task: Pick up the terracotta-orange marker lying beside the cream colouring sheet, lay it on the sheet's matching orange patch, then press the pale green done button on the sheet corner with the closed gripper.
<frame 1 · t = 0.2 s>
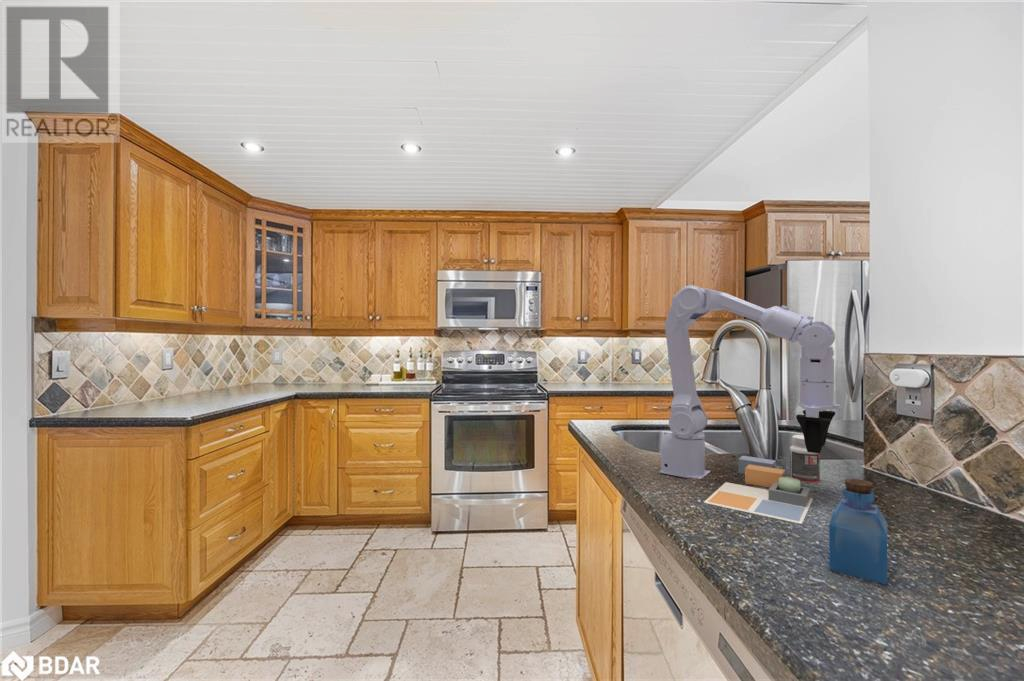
hand: (815, 448, 92), 10 cm above the countertop, fingers open, 7 cm apart
button housing: (789, 499, 89), resting on sheet
sheet: (758, 503, 88), on the countertop
orange marker: (764, 487, 98), on the countertop
blue marker: (756, 476, 106), on the countertop
done button: (789, 484, 89), point 3 cm above the countertop, slide at 0.0 cm
pill bottle: (804, 482, 102), on the countertop
perfume bottle: (858, 569, 63), on the countertop
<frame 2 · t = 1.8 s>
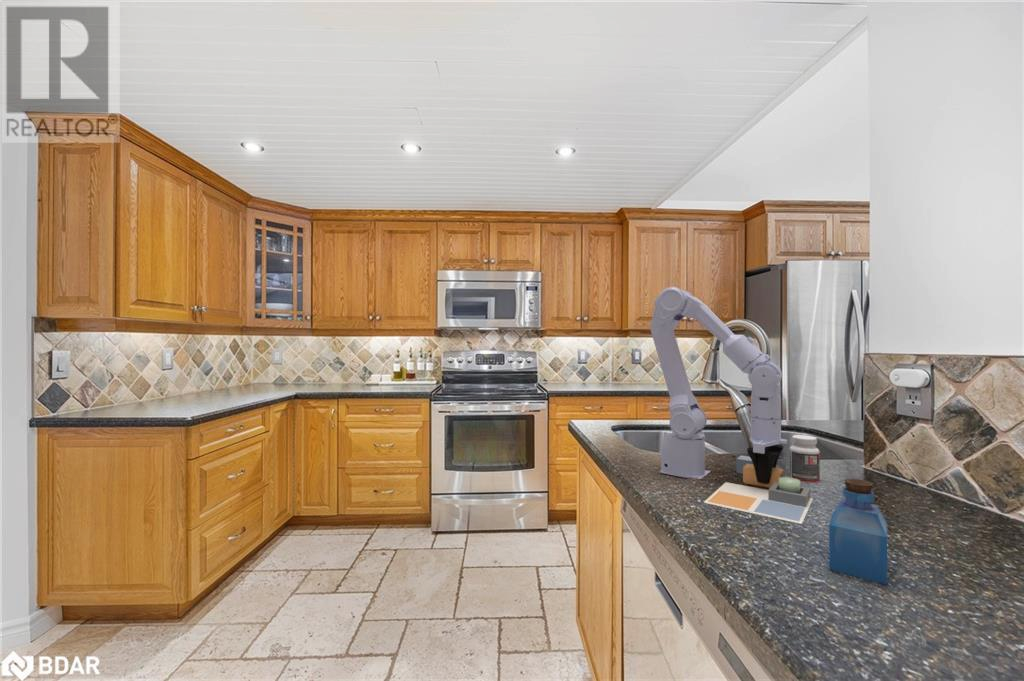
hand: (765, 480, 98), 1 cm above the countertop, fingers closed on orange marker, 4 cm apart
orange marker: (763, 486, 98), on the countertop, touching gripper
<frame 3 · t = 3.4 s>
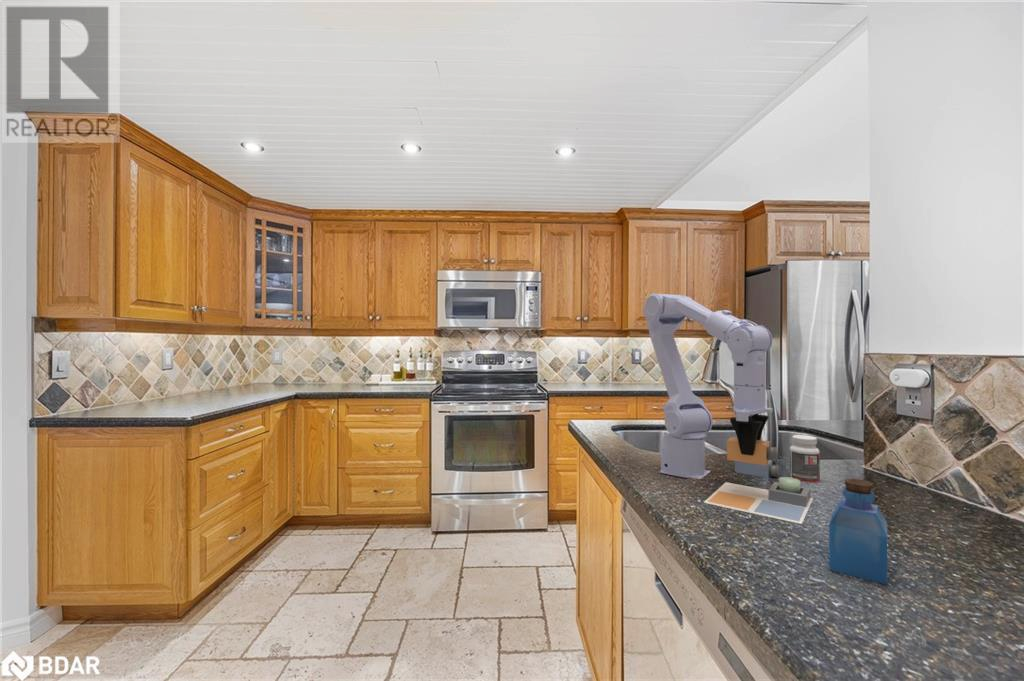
hand: (749, 452, 92), 9 cm above the countertop, fingers closed on orange marker, 4 cm apart
orange marker: (748, 460, 92), point 7 cm above the countertop, touching gripper
when the fingers open (3 cm above the countertop, at t = 5.1 s): orange marker stays where it is, resting on sheet.
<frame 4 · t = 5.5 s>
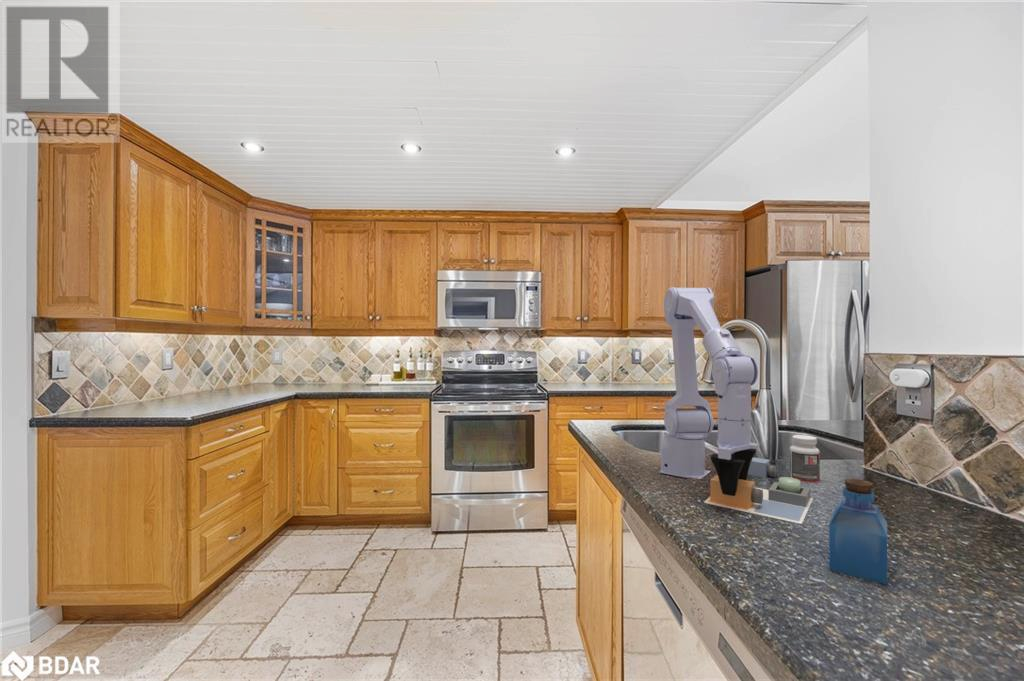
hand: (734, 489, 87), 3 cm above the countertop, fingers open, 7 cm apart
orange marker: (732, 501, 88), point 1 cm above the countertop, touching sheet
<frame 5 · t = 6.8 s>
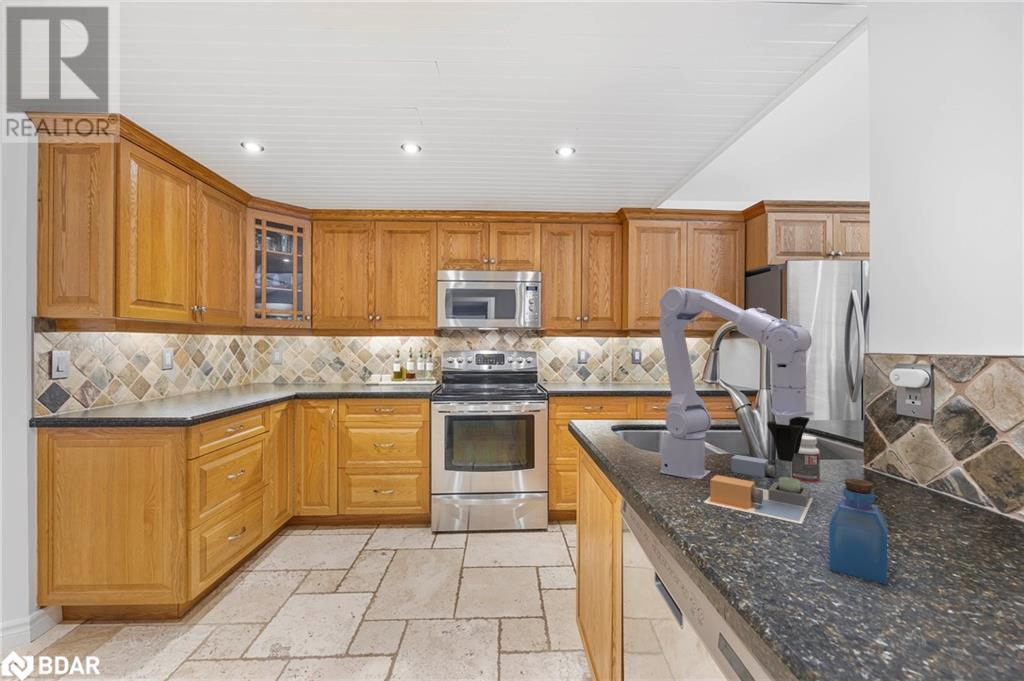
hand: (788, 456, 89), 9 cm above the countertop, fingers open, 7 cm apart
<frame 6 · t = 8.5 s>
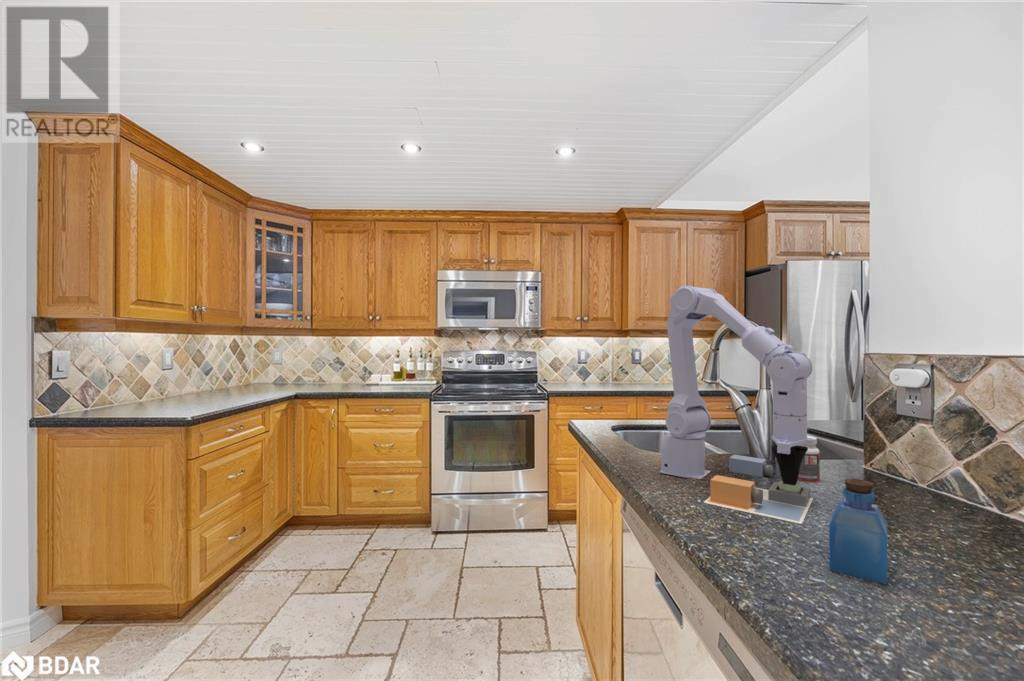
hand: (789, 483, 89), 4 cm above the countertop, fingers closed, pressing on done button
done button: (789, 488, 89), point 3 cm above the countertop, slide at 0.8 cm, touching gripper
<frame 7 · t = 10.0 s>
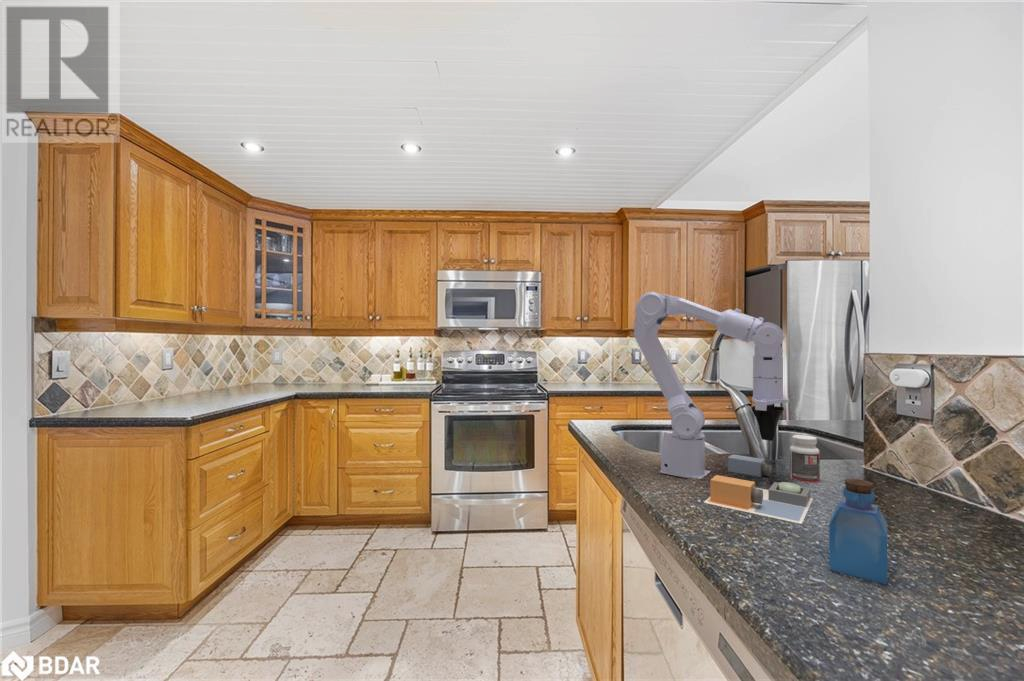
hand: (767, 439, 99), 10 cm above the countertop, fingers closed
done button: (789, 490, 89), point 2 cm above the countertop, slide at 1.0 cm
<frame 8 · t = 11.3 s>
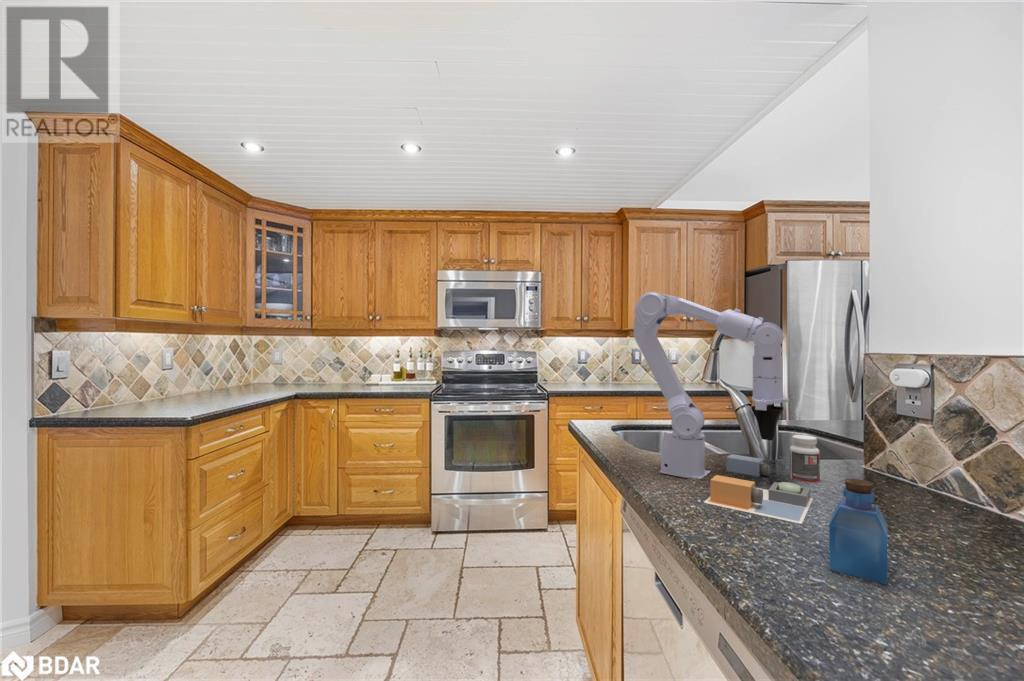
hand: (767, 439, 100), 10 cm above the countertop, fingers closed
at the end: orange marker inside the target area on the sheet (1.0 cm from its centre), point 0.6 cm above the sheet's base; orange marker tilted 0°; done button slide at 1.0 cm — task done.
